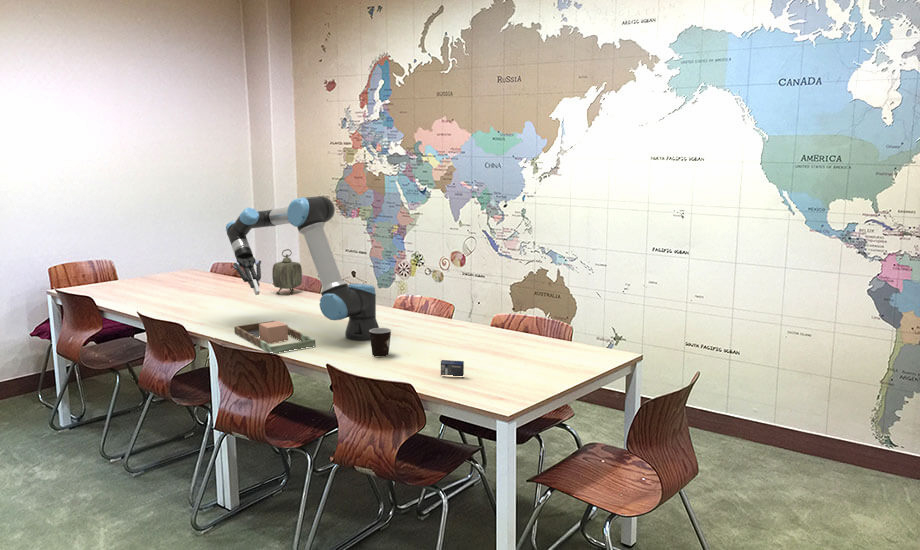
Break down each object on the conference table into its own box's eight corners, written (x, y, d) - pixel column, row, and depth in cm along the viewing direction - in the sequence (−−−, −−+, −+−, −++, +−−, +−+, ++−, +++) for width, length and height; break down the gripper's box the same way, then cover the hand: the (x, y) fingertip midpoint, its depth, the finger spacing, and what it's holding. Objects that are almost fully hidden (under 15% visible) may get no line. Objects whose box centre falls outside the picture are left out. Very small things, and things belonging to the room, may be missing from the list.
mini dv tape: (440, 377, 278) (440, 361, 277) (441, 375, 279) (441, 359, 278) (463, 378, 276) (463, 362, 275) (463, 377, 278) (463, 361, 277)
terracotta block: (288, 340, 328) (287, 324, 326) (268, 344, 322) (267, 327, 321) (279, 336, 335) (278, 320, 333) (259, 339, 329) (258, 323, 328)
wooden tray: (315, 346, 317) (315, 339, 317) (272, 354, 306) (271, 347, 306) (275, 327, 351) (275, 320, 350) (234, 333, 339) (234, 326, 339)
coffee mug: (382, 350, 312) (381, 326, 310) (395, 354, 306) (395, 330, 304) (359, 356, 304) (358, 331, 302) (372, 360, 298) (372, 335, 296)
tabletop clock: (293, 290, 434) (291, 247, 430) (304, 292, 429) (302, 248, 425) (273, 294, 423) (271, 250, 418) (284, 296, 417) (282, 251, 413)
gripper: (254, 254, 354) (269, 296, 344) (226, 257, 347) (241, 299, 336) (258, 244, 349) (273, 286, 339) (230, 247, 341) (245, 289, 331)
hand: (257, 293), depth 338 cm, fingers closed
